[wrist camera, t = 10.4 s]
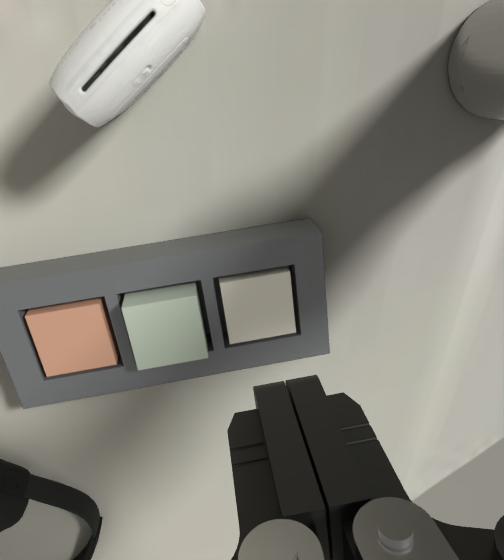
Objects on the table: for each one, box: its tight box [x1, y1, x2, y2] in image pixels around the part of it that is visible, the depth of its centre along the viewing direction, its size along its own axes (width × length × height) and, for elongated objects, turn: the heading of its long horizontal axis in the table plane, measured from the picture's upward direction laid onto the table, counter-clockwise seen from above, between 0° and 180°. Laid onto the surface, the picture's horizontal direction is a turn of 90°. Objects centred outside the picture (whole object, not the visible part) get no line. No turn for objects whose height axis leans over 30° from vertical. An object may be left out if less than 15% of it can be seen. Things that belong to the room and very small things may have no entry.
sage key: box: [121, 281, 208, 370], centre depth 41 cm, size 6×6×3 cm
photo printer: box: [50, 0, 206, 127], centre depth 31 cm, size 10×4×12 cm, turn 132°
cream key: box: [219, 266, 296, 344], centre depth 43 cm, size 6×6×3 cm
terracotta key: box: [25, 296, 120, 377], centre depth 42 cm, size 6×6×3 cm
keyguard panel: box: [0, 218, 330, 409], centre depth 43 cm, size 28×12×4 cm, turn 97°
